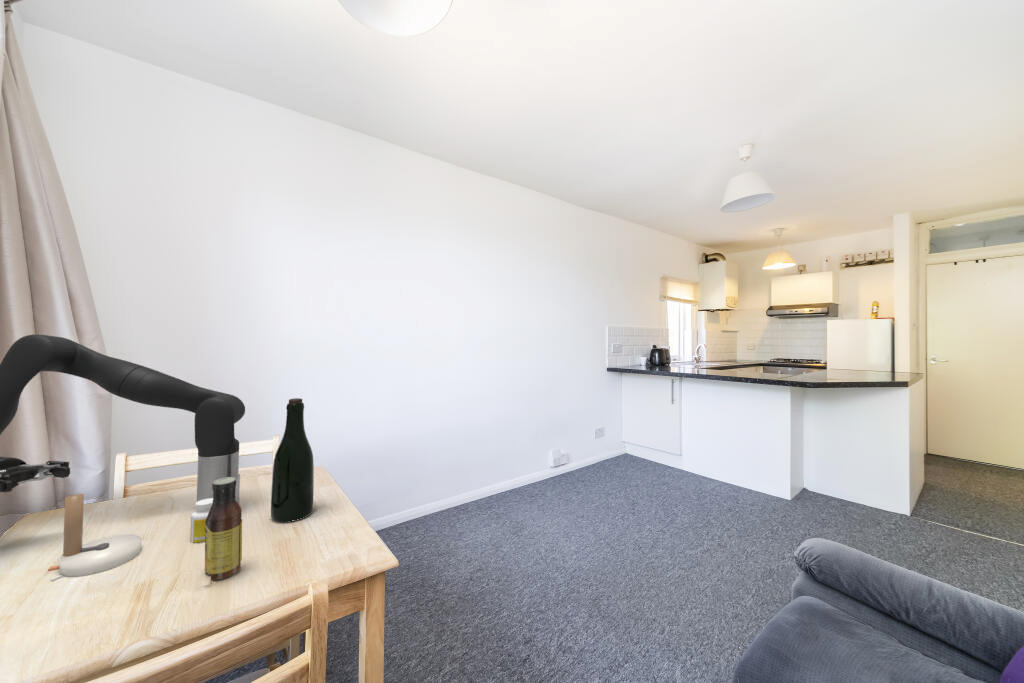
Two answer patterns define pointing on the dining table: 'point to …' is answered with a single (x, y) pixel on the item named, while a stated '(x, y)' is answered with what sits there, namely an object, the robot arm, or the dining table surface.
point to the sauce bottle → (223, 531)
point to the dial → (91, 545)
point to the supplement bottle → (199, 520)
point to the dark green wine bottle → (293, 469)
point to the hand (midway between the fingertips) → (39, 479)
